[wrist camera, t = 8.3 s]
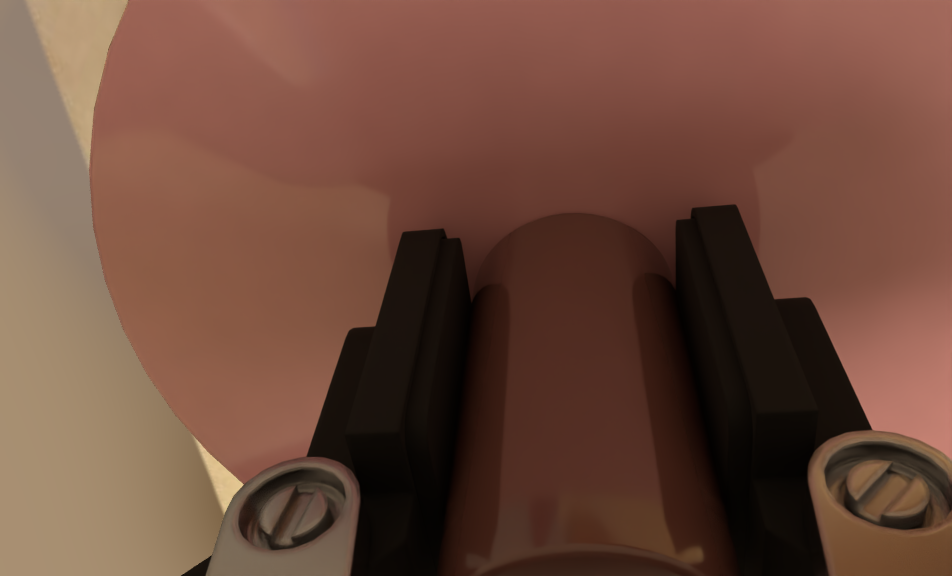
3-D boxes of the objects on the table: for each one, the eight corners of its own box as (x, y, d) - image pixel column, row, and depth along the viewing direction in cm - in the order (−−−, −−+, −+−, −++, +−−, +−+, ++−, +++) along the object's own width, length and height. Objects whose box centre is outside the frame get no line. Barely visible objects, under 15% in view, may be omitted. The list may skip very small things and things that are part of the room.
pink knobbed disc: (264, 559, 17) (131, 951, 12) (-44, -190, 10) (-790, -87, 4) (963, 537, 16) (1198, 987, 10) (1218, -393, 8) (2648, -655, 3)
